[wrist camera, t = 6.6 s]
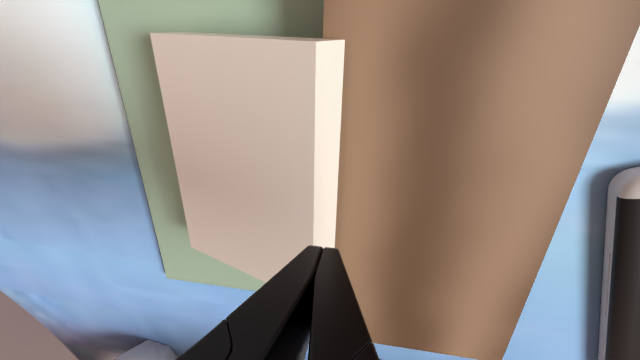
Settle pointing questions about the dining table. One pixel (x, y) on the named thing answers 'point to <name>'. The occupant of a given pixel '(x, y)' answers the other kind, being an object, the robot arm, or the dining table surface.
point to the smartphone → (621, 270)
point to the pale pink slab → (254, 142)
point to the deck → (463, 154)
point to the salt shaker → (148, 352)
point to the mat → (149, 114)
